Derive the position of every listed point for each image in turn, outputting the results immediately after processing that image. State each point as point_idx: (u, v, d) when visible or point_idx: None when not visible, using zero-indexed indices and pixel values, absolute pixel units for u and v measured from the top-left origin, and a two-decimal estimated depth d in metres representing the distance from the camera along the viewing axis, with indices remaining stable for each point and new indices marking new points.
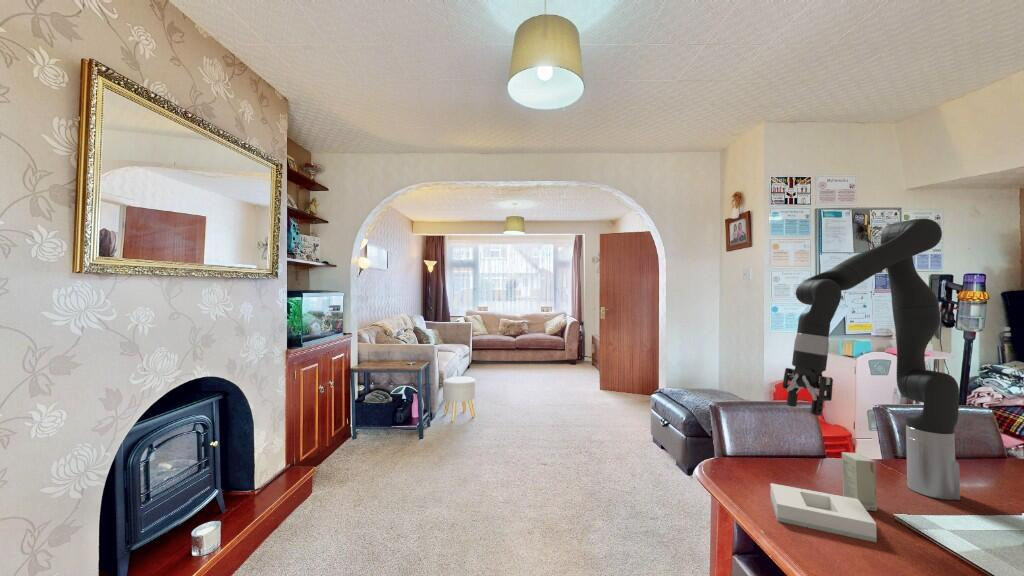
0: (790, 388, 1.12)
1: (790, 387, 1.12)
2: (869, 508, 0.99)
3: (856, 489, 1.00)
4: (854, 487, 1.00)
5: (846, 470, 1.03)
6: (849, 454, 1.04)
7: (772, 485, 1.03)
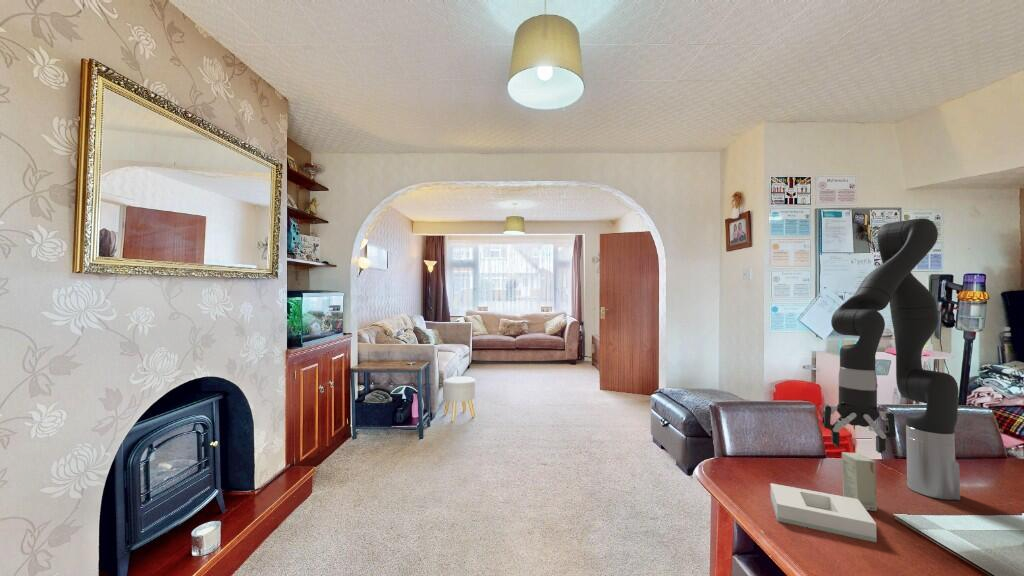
0: (839, 428, 1.03)
1: (839, 427, 1.03)
2: (869, 508, 0.99)
3: (856, 489, 1.00)
4: (854, 487, 1.00)
5: (846, 470, 1.03)
6: (849, 454, 1.04)
7: (772, 485, 1.03)
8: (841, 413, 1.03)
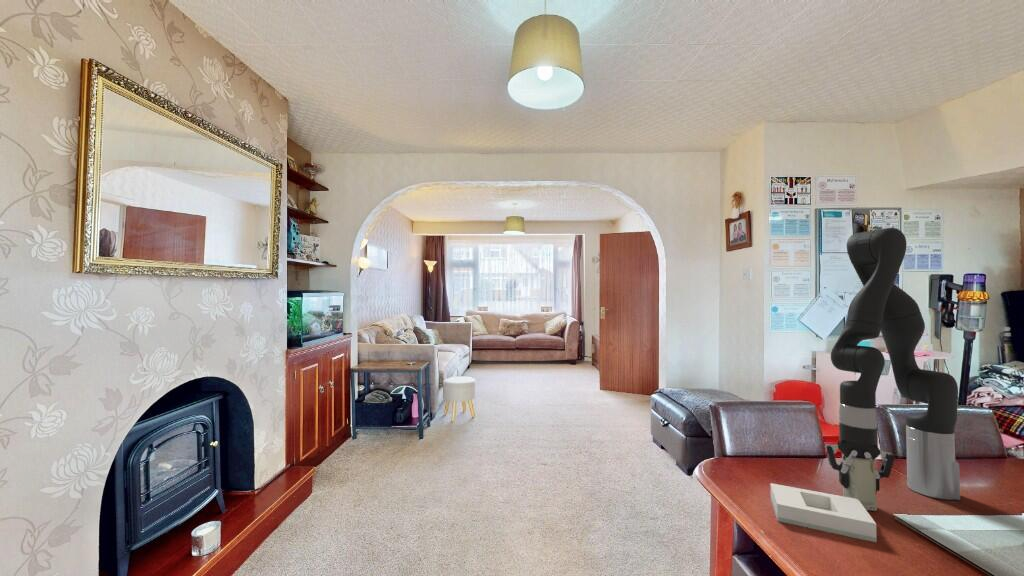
0: (847, 469, 1.02)
1: (846, 467, 1.02)
2: (869, 508, 0.99)
3: (856, 489, 1.00)
4: (854, 487, 1.00)
5: None
6: None
7: (772, 485, 1.03)
8: (842, 452, 1.03)
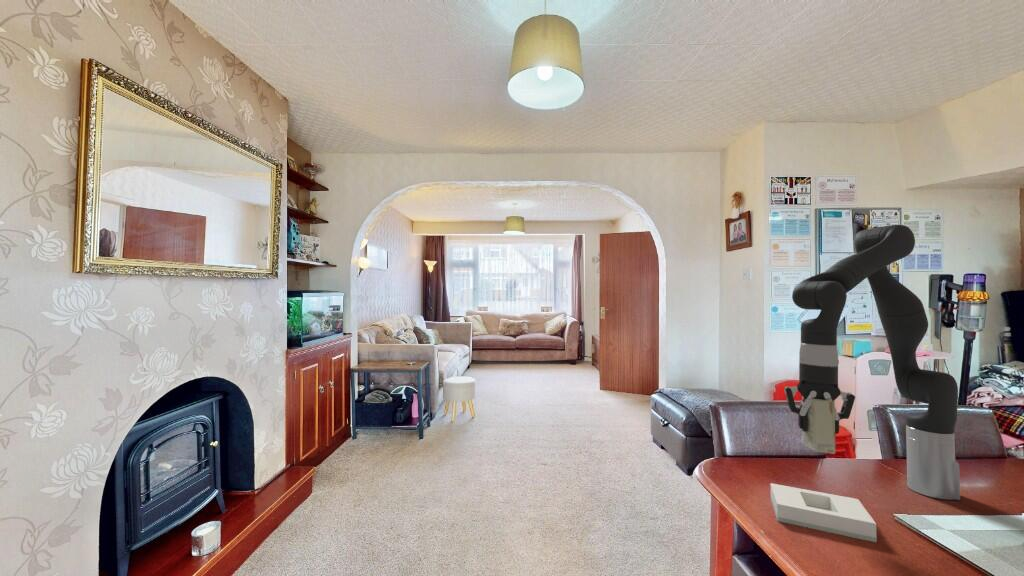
0: (806, 411, 0.97)
1: (805, 409, 0.97)
2: (827, 450, 0.93)
3: (814, 430, 0.94)
4: (812, 429, 0.95)
5: (806, 413, 0.98)
6: None
7: (772, 485, 1.03)
8: (802, 394, 0.97)
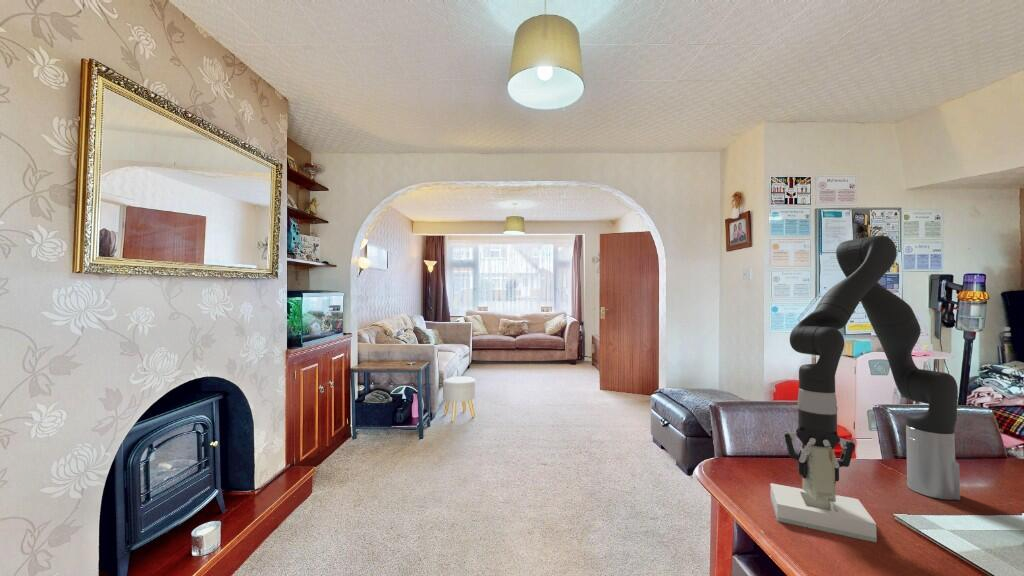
0: (805, 458, 0.96)
1: (804, 456, 0.96)
2: (827, 499, 0.92)
3: (814, 479, 0.93)
4: (812, 477, 0.94)
5: None
6: None
7: (772, 485, 1.03)
8: (801, 440, 0.96)
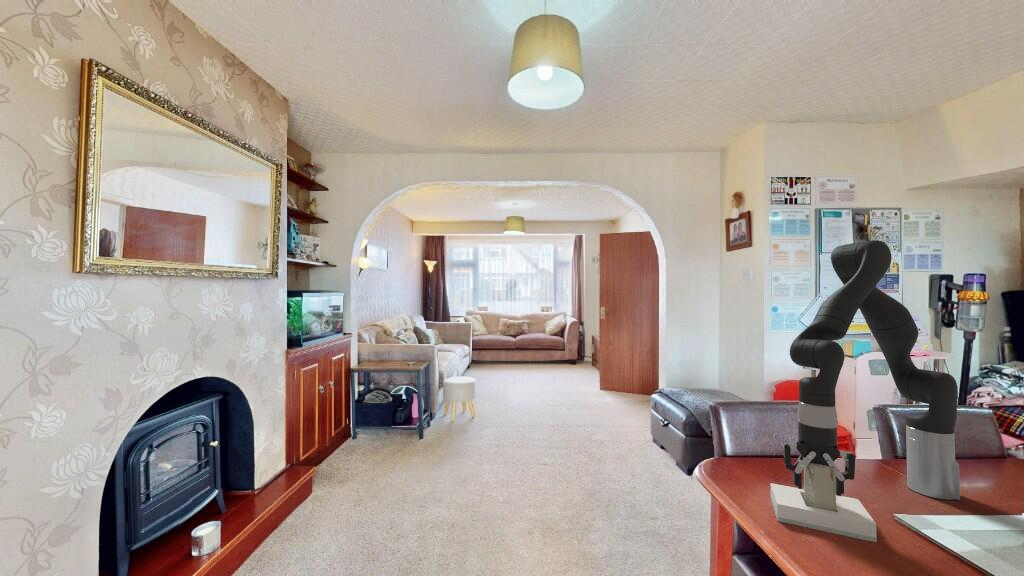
0: (801, 469, 0.96)
1: (801, 467, 0.96)
2: None
3: (814, 497, 0.93)
4: (813, 495, 0.94)
5: (807, 477, 0.97)
6: None
7: (772, 485, 1.03)
8: (800, 452, 0.96)
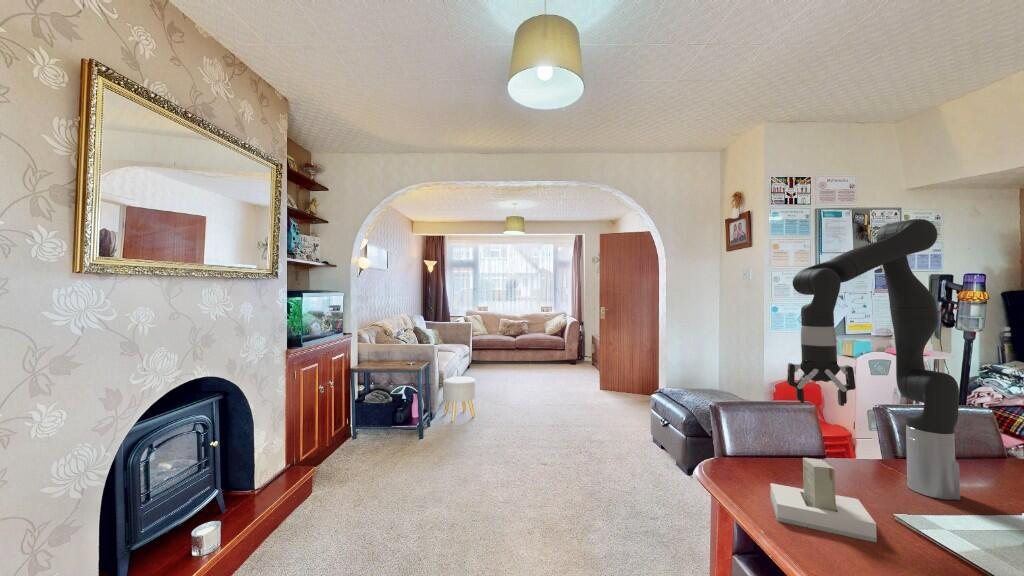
0: (803, 385, 1.07)
1: (803, 383, 1.07)
2: None
3: (814, 497, 0.93)
4: (812, 495, 0.94)
5: (806, 477, 0.97)
6: (810, 460, 0.97)
7: (772, 485, 1.03)
8: (804, 370, 1.07)
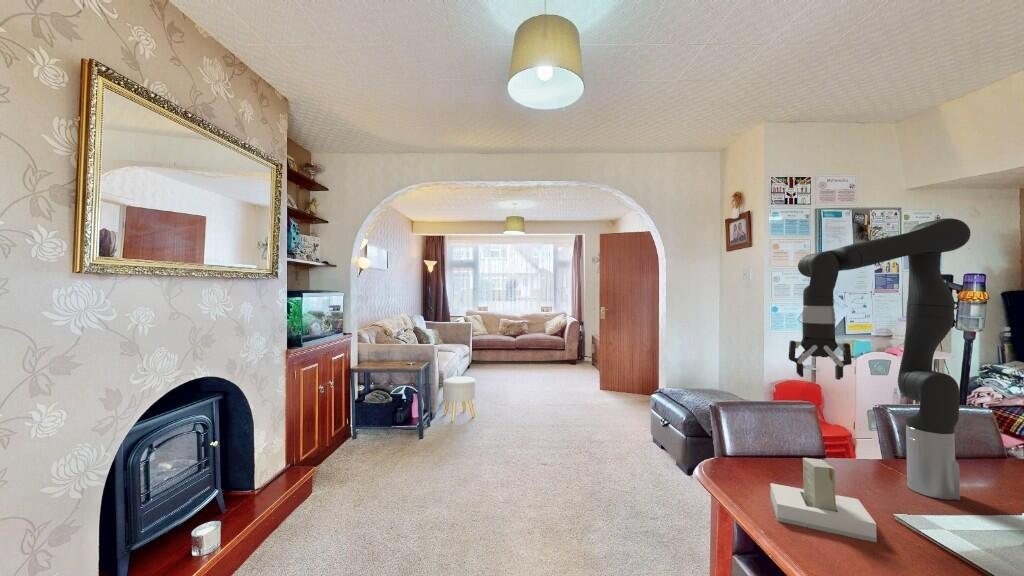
0: (803, 360, 1.15)
1: (803, 359, 1.15)
2: None
3: (814, 497, 0.93)
4: (812, 495, 0.94)
5: (806, 477, 0.97)
6: (810, 460, 0.97)
7: (772, 485, 1.03)
8: (804, 346, 1.15)
